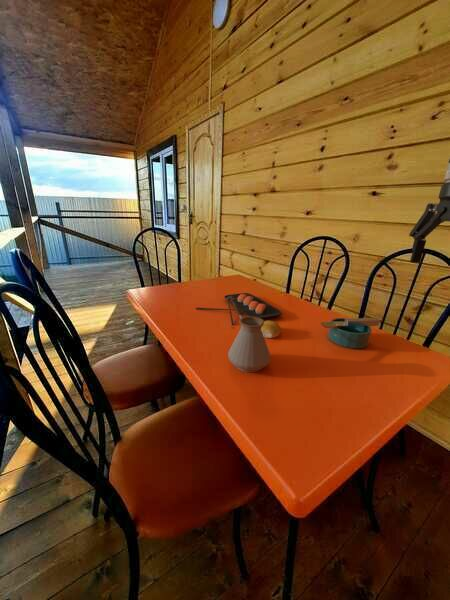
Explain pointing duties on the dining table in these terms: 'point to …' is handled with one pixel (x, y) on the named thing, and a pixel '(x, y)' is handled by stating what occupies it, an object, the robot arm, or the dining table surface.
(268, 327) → the bread roll
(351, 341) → the bowl
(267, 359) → the coffee pot
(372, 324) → the fork
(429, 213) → the robot arm
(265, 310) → the sushi plate
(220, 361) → the dining table surface
